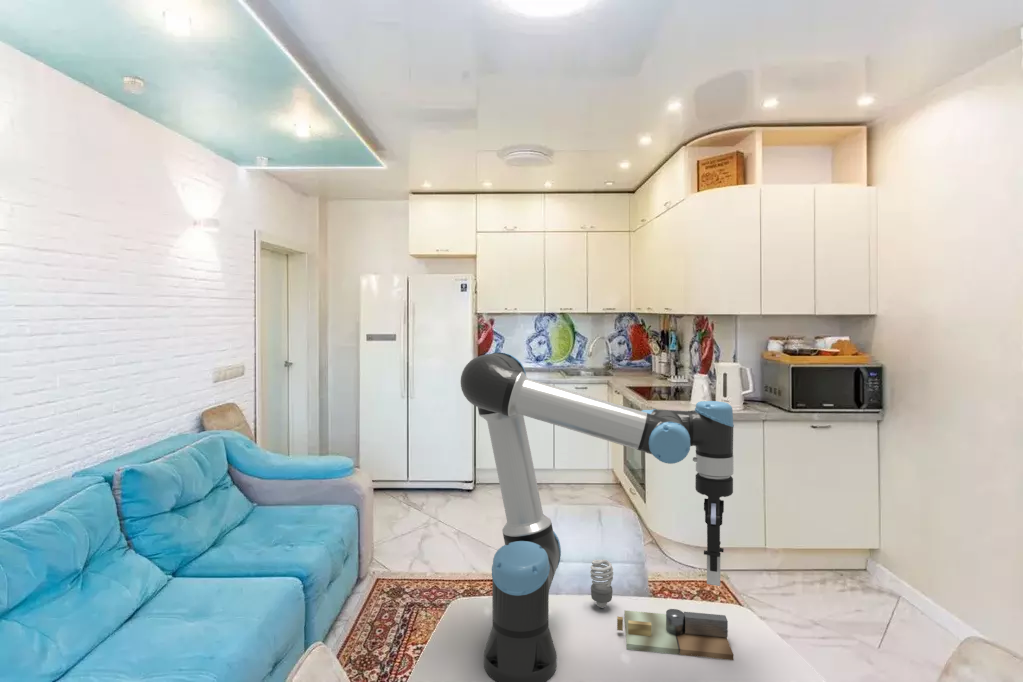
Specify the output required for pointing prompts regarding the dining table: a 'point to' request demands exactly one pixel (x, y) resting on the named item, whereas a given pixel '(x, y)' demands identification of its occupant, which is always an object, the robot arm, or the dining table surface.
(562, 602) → the dining table surface
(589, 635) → the dining table surface
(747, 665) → the dining table surface
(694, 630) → the bar
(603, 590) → the light bulb
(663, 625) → the door board
